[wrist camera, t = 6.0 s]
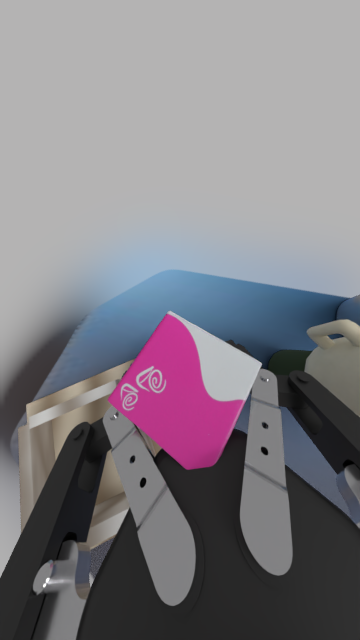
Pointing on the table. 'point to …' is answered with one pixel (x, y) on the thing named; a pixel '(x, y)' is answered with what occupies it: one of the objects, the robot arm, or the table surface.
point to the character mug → (328, 361)
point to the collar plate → (47, 441)
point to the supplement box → (186, 391)
